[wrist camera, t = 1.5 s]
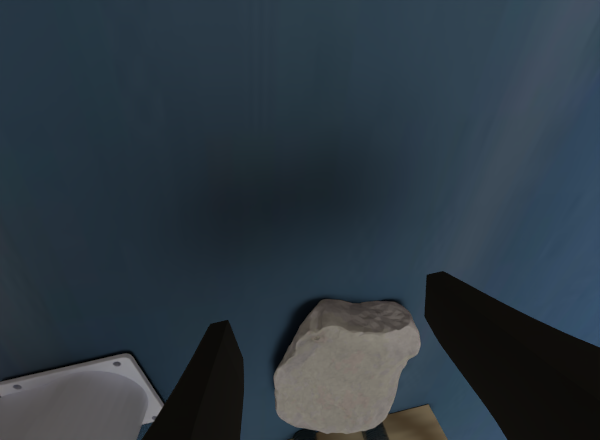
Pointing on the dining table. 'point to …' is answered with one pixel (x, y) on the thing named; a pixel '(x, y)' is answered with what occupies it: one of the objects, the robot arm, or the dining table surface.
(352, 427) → the stone block
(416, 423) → the bench stop
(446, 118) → the dining table surface
